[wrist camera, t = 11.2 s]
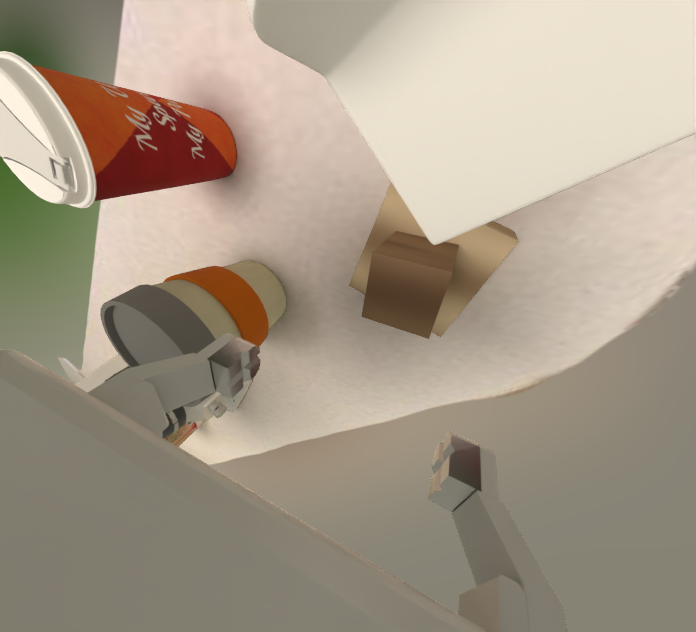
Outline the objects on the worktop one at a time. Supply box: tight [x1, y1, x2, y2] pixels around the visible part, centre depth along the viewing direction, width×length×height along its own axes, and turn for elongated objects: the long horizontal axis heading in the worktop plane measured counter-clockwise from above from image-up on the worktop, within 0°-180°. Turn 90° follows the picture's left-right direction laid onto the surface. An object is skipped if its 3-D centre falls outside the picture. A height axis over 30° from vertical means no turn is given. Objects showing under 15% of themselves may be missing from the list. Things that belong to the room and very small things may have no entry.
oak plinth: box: [349, 183, 518, 337], centre depth 23 cm, size 10×10×3 cm
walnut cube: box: [362, 231, 459, 339], centre depth 19 cm, size 5×5×6 cm
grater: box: [75, 354, 128, 393], centre depth 63 cm, size 10×10×20 cm
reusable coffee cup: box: [101, 261, 286, 407], centre depth 30 cm, size 13×13×15 cm
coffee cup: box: [0, 51, 237, 208], centre depth 21 cm, size 8×8×15 cm
